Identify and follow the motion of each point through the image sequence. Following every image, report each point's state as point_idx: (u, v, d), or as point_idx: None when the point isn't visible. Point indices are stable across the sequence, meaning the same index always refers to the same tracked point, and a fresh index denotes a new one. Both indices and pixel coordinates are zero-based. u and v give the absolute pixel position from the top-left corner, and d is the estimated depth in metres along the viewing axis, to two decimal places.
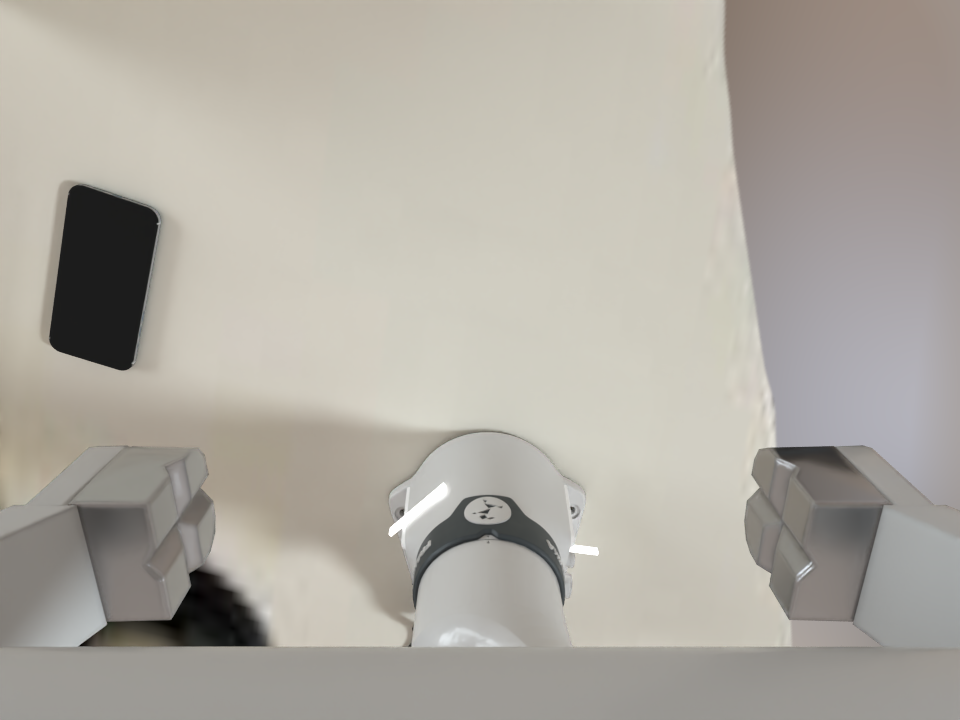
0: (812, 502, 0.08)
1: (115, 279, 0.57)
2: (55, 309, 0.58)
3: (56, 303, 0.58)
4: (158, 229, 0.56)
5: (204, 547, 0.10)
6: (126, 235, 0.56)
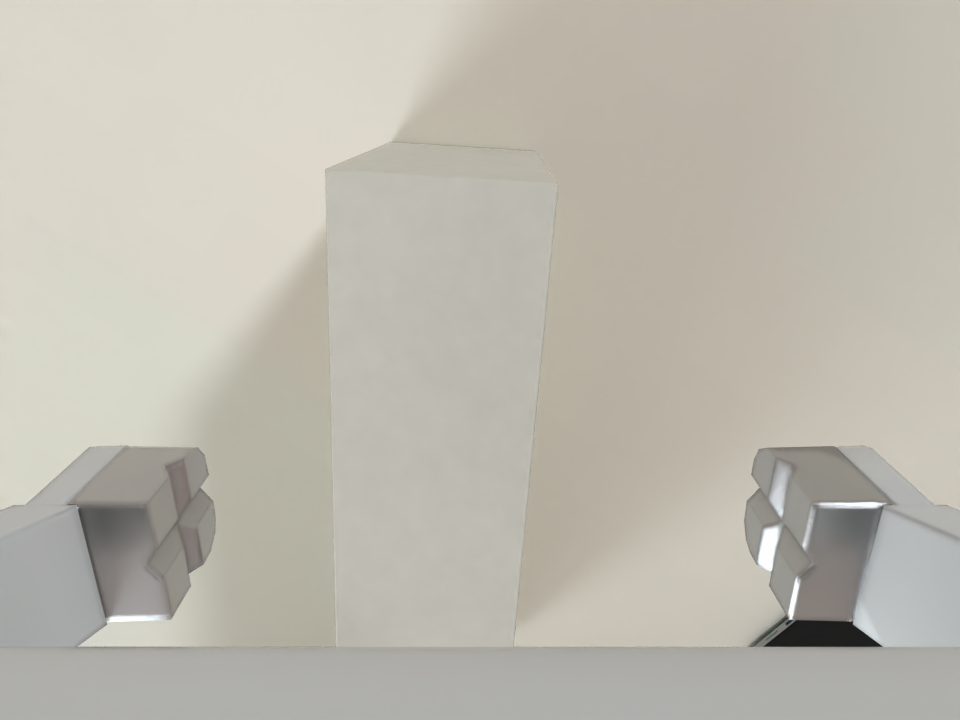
0: (812, 502, 0.08)
1: None
2: None
3: None
4: None
5: (204, 546, 0.10)
6: (846, 636, 0.38)
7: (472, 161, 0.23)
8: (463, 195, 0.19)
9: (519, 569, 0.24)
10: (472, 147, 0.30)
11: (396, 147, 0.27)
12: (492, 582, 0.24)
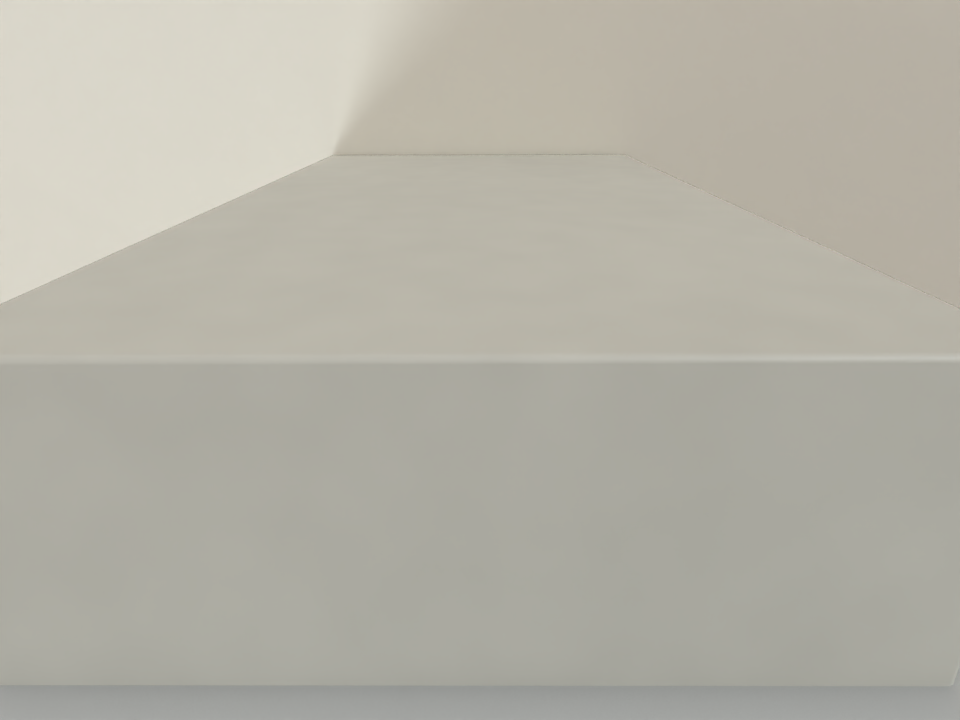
0: None
1: None
2: None
3: None
4: None
5: None
6: None
7: (532, 206, 0.08)
8: (580, 435, 0.04)
9: None
10: (498, 155, 0.15)
11: (336, 169, 0.12)
12: None
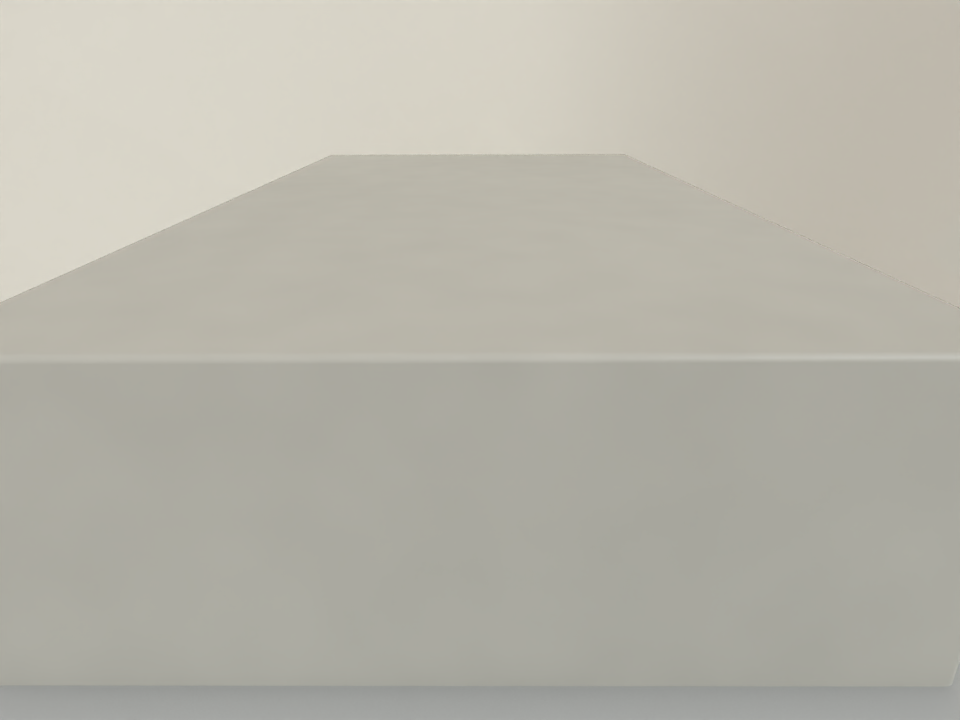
0: None
1: None
2: None
3: None
4: None
5: None
6: None
7: (531, 206, 0.08)
8: (578, 434, 0.04)
9: None
10: (498, 155, 0.15)
11: (335, 169, 0.12)
12: None
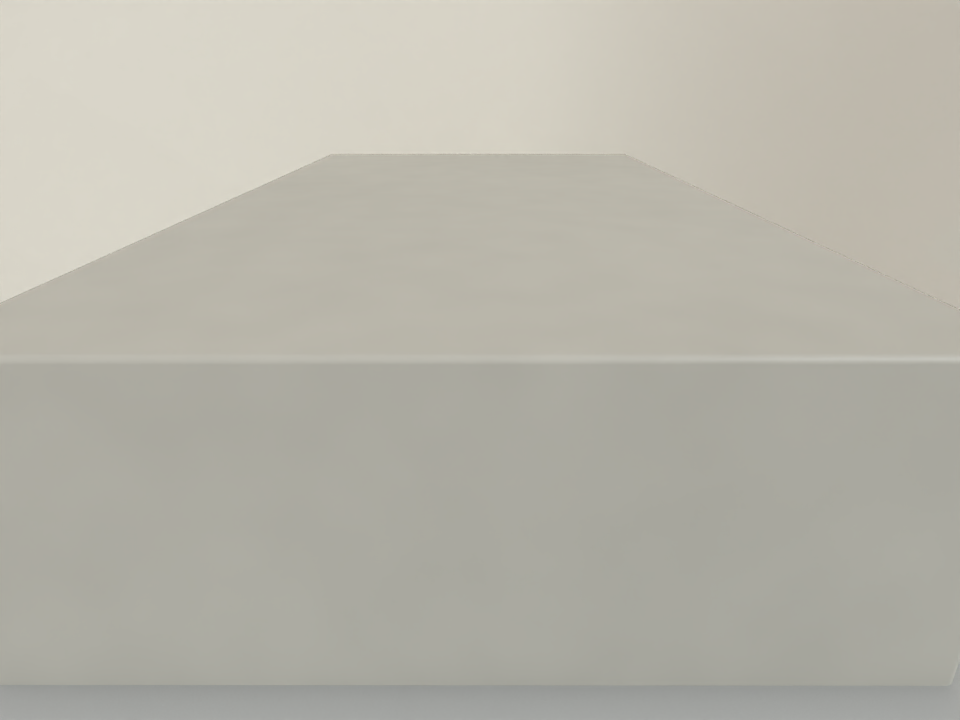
0: None
1: None
2: None
3: None
4: None
5: None
6: None
7: (531, 206, 0.08)
8: (578, 435, 0.04)
9: None
10: (498, 154, 0.15)
11: (336, 168, 0.12)
12: None
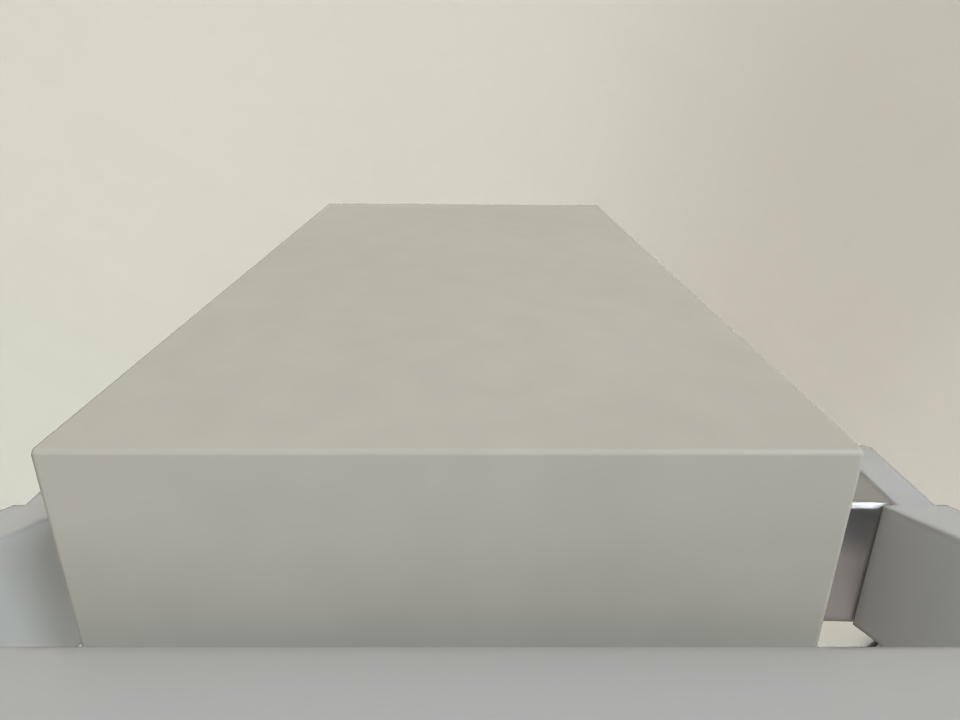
0: None
1: None
2: None
3: None
4: None
5: None
6: None
7: (506, 281, 0.10)
8: (528, 504, 0.05)
9: None
10: (481, 205, 0.16)
11: (336, 226, 0.14)
12: None
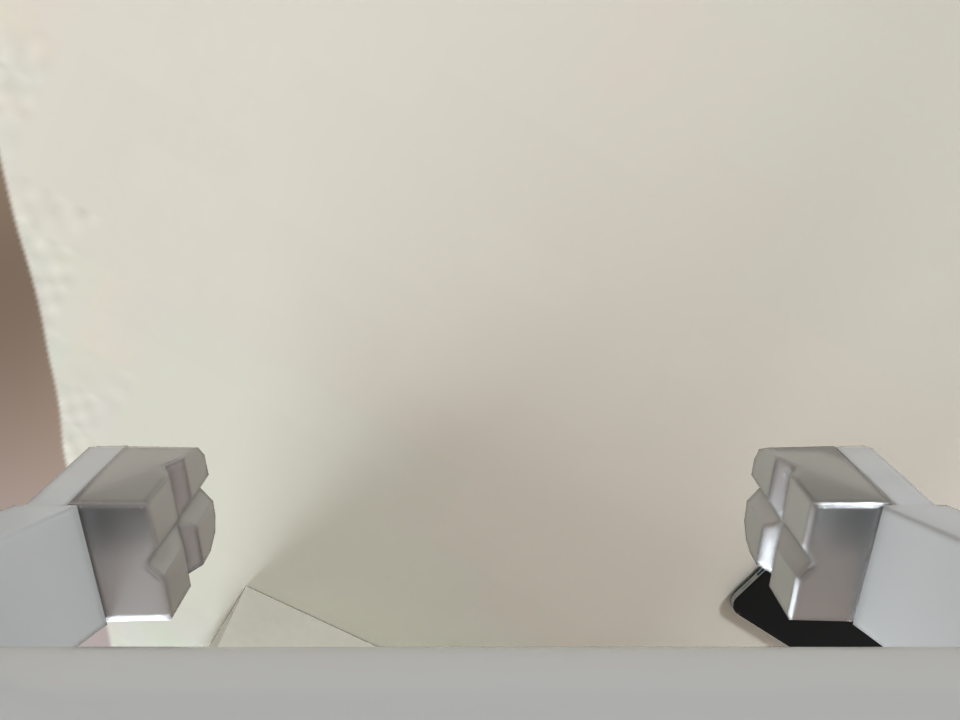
0: (812, 502, 0.08)
1: None
2: None
3: None
4: None
5: (204, 547, 0.10)
6: None
7: None
8: None
9: None
10: (229, 613, 0.50)
11: None
12: None
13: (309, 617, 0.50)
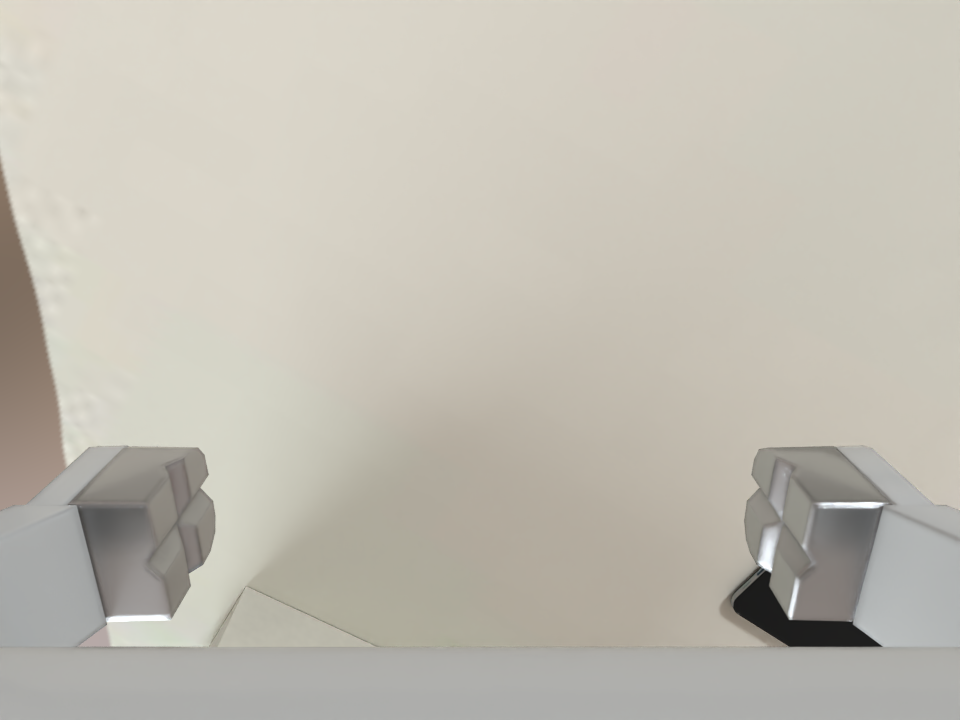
0: (812, 502, 0.08)
1: None
2: None
3: None
4: None
5: (204, 547, 0.10)
6: None
7: None
8: None
9: None
10: (229, 614, 0.50)
11: None
12: None
13: (309, 617, 0.50)
